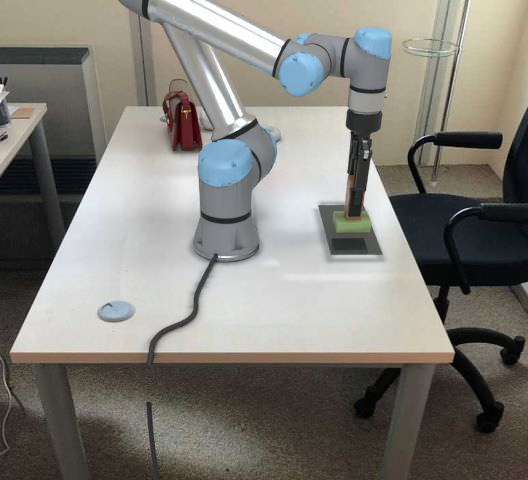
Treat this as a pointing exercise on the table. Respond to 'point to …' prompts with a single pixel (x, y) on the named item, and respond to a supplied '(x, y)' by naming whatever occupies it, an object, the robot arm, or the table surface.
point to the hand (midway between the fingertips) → (352, 211)
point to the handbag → (181, 116)
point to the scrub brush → (351, 223)
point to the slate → (347, 236)
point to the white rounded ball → (205, 120)
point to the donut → (273, 131)
